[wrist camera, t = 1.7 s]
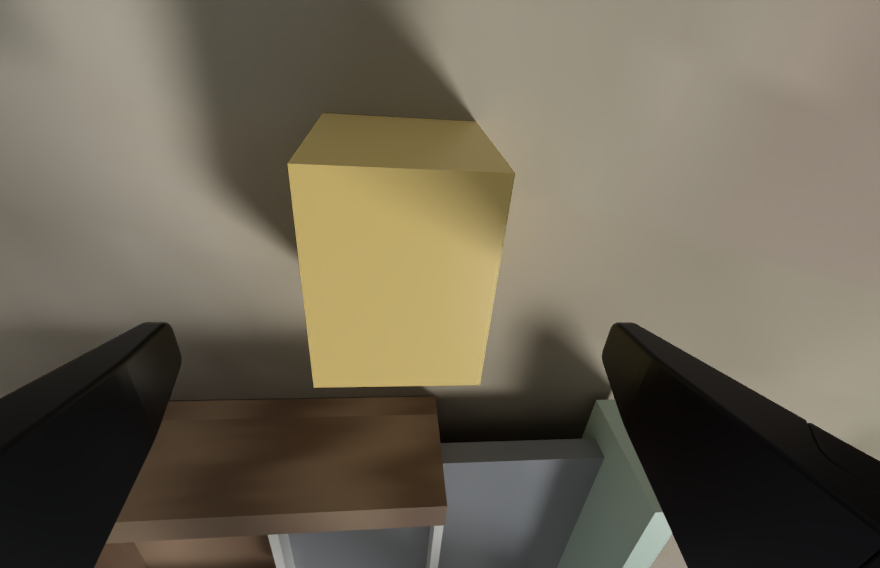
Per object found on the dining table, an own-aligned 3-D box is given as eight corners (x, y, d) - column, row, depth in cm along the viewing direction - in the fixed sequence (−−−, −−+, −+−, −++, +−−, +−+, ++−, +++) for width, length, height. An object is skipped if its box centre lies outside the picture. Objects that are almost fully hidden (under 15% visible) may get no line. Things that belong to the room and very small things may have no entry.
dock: (435, 396, 19) (447, 506, 15) (419, 564, 27) (424, 667, 23) (48, 403, 17) (-65, 531, 13) (152, 581, 25) (104, 696, 21)
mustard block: (475, 121, 13) (515, 172, 9) (457, 287, 16) (479, 384, 12) (322, 112, 12) (286, 163, 8) (335, 286, 16) (313, 387, 11)
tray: (621, 399, 20) (686, 510, 15) (553, 562, 27) (583, 667, 23) (269, 406, 18) (228, 535, 13) (303, 578, 26) (285, 696, 21)
